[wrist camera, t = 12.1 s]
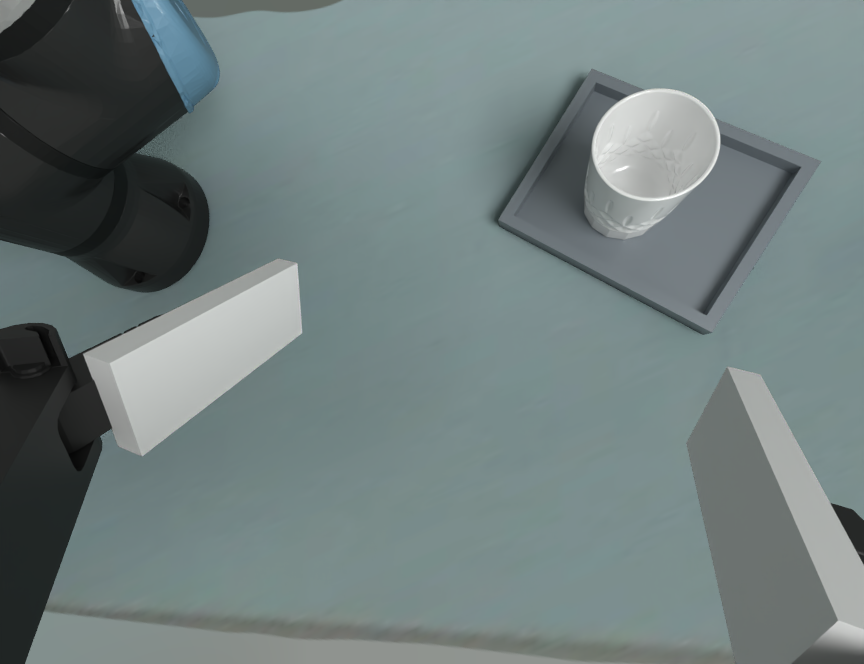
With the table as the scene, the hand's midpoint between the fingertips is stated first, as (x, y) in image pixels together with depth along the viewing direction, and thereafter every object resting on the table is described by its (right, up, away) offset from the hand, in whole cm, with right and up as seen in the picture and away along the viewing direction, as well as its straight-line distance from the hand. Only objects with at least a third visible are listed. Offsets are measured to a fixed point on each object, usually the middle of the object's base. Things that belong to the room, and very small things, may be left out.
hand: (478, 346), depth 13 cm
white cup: (+16, +12, +25) cm, 32 cm away
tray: (+17, +12, +25) cm, 33 cm away
